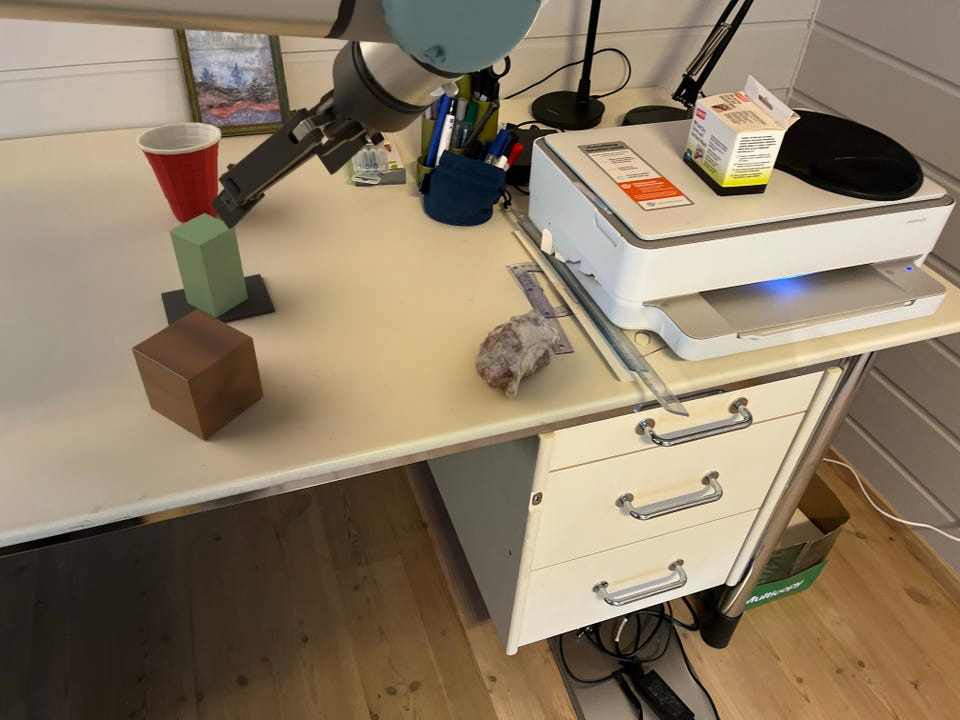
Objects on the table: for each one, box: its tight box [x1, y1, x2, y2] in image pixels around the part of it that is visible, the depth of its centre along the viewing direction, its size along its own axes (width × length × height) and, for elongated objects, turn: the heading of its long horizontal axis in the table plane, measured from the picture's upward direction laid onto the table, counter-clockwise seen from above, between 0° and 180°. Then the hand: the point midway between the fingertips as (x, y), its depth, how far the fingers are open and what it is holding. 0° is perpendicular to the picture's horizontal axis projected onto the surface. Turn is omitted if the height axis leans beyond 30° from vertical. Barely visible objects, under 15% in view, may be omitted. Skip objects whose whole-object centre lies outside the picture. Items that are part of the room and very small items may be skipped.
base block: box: [131, 309, 264, 442], centre depth 76 cm, size 8×8×8 cm
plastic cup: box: [135, 122, 222, 224], centre depth 103 cm, size 11×11×12 cm
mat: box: [160, 273, 276, 326], centre depth 91 cm, size 12×8×1 cm, turn 115°
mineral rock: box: [474, 308, 561, 400], centre depth 84 cm, size 15×8×4 cm, turn 142°
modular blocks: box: [540, 228, 567, 263], centre depth 100 cm, size 20×7×4 cm, turn 44°
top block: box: [169, 213, 248, 318], centre depth 88 cm, size 5×5×10 cm
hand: (277, 187), depth 72 cm, fingers open, 13 cm apart
